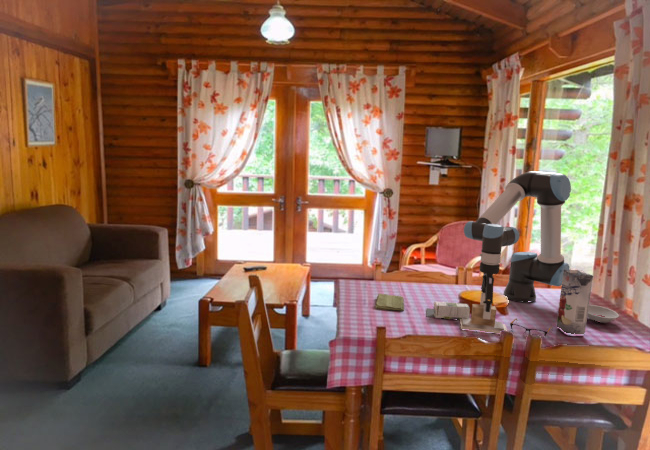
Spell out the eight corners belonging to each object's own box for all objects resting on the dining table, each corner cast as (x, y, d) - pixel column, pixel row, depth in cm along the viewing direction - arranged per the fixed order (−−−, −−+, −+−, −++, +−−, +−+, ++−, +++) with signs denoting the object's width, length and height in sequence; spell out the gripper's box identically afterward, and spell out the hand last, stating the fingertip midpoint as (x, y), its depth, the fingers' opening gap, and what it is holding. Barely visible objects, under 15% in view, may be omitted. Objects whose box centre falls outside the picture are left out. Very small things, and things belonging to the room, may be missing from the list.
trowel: (501, 324, 213) (503, 306, 211) (503, 331, 205) (506, 312, 204) (461, 319, 216) (463, 301, 215) (462, 326, 208) (464, 307, 207)
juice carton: (574, 328, 216) (582, 266, 211) (587, 338, 205) (596, 272, 201) (553, 327, 215) (561, 265, 211) (565, 337, 205) (574, 271, 200)
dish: (572, 314, 235) (574, 303, 234) (605, 316, 234) (606, 305, 233) (589, 328, 217) (591, 316, 216) (624, 330, 216) (626, 319, 216)
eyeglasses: (508, 332, 208) (509, 323, 208) (517, 322, 220) (518, 314, 220) (545, 341, 201) (547, 332, 200) (552, 331, 213) (553, 321, 212)
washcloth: (374, 310, 227) (374, 303, 227) (376, 298, 245) (377, 292, 244) (404, 313, 225) (404, 306, 225) (404, 301, 243) (405, 294, 242)
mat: (463, 312, 229) (463, 312, 229) (464, 321, 218) (464, 320, 218) (426, 308, 232) (426, 308, 232) (426, 316, 221) (426, 316, 221)
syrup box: (466, 316, 223) (432, 314, 224) (467, 303, 223) (433, 301, 224) (469, 320, 218) (434, 318, 219) (470, 307, 217) (435, 305, 218)
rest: (504, 326, 213) (504, 324, 213) (507, 335, 204) (508, 332, 204) (459, 321, 217) (460, 319, 217) (461, 330, 207) (461, 327, 207)
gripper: (477, 255, 218) (473, 302, 222) (483, 269, 194) (477, 322, 198) (496, 256, 217) (491, 304, 221) (503, 271, 193) (498, 324, 197)
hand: (484, 313), depth 209 cm, fingers open, 13 cm apart
